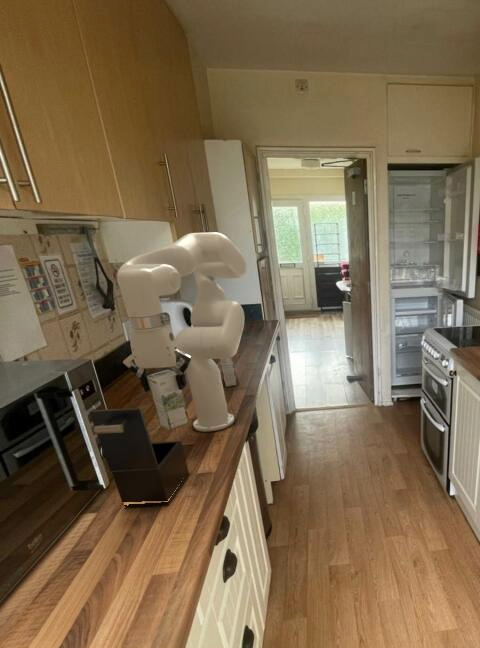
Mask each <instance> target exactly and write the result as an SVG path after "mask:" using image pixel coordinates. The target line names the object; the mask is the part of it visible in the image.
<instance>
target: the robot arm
mask: <svg viewBox="0 0 480 648" xmlns="http://www.w3.org/2000/svg"><path fill="white" fill-rule="evenodd" d="M246 273H247V261H246V259H245V257H244V255H243V253H242V251H240V249H239V248H238V247H237V246H236V245H235V243H233V241H231V239H230V238H228V236H226V235H224V234H223V233H221V232H217V231H212V232H209V231H207V232H190V233H186V234H184V235H182V236H181V237H180V238H179V239H177V240H176V241H174V242H173V243H171V244H170V245H168V246H165V247H161V248H159V249H155V250H153V251H149V252H146V253H142V254H139V255H137V256H135V257H132V258H131V259H129V260H127V261H126V262H124V263H122V265H121V266H120V267H119V269H118V271H117V273H116V280H117V285H118V286H119V290H120V293H121V297H122V300H123V304H124V308H125V310H126V314H127V317H128V321H129V325H130V328H129V342H130V348H131V349H130V350H131V354H130V355H128V356H127V357H125V359H123V361H122V364H124V366H126V367H127V368H128V369H129V371H131V372H132V373H133V374H134V375H136V377H137V378H139V381H140V384H141V387H142V388H143V390H144V393H147V392H150V388H149V385H148V381H147V378H146V376H147V375H150V374H149V372H147V371H148V369H161V368H163V369H164V368H170V369H172V371H173V372H174V373H176V374H177V375H176V381H177V384H178V388H179V390H182V391H183V390H184V389H185V387H187V386H186V385H187V381H188V385H189V389H190V393H191V398H192V402H193V407H194V411H195V415H196V419H195V420H194V421H193V423H192V426H193V429H194V430H196V431H197V432H203V433H204V432H206V433H209V432H216V431H221V430H223V429H226V428H229V427H230V426H231V425H233V424H234V422H235V416H234V415H233V414H232V413H229V411H228V403H227V400H226V395H225V390H224V386H223V385H224V384H223V380H222V374H221V370H220V368H219V366H218V364H217V363H216V361H214V360H218V359H219V360H220V359H225V358H231V357H232V358H234V357H235V355H237V352H238V351H239V346H240V342H241V338H242V336H243V331H244V328H245V320H246V319H245V311H244V309H243V307H242V305H241V304H240V303H239V302H237V301H235V300H227V295H226V292H225V290H224V289H223V288H222V287H221V285H220V284H218V283H217V282H216V280H222V279H240V278H242V277H243V276H245V274H246ZM191 274H193V277H194V279H195V283H196V286H197V291H198V292H197V295H196V297H195V301H194V304H193V307H192V310H191V313H190V323H191V326H188V327H185V328H182V329H180V330H179V331H178V332H177V334H176V336H175V332H174V331H173V329H172V327H171V325H170V324H167V323H170V322H171V317H170V316H169V315H165V313H164V311H163V308H162V304H161V299H160V297H162V296H172V295H174V294H176V293H177V292H178V291H179V290H180V288H181V286H182V278H184V277H187V276H189V275H191ZM181 361H182V363H180V362H181ZM185 372H186V375H185ZM186 376H187V378H186Z"/></svg>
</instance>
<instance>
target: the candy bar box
mask: <svg viewBox="0 0 480 648" xmlns="http://www.w3.org/2000/svg"><path fill="white" fill-rule="evenodd" d="M219 365H220V369H221V373H222V374H221V375H222V378H223V383H224V386H225V388H228V387H229V388H230V387H235V386H238V380H237V375H236V370H235V364H234V359H233V357H231V358H225V359H219Z"/></svg>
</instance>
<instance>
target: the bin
mask: <svg viewBox="0 0 480 648" xmlns="http://www.w3.org/2000/svg"><path fill="white" fill-rule="evenodd" d="M151 443H152V446H153V449H154V453H155V456H156V460H157V463H158V466H159V467H158V468H157V469H140V470H122V471H111V474H112V477H113V479H114V482H115V486H116V488H117V491H118V494H119V497H120V500H121V503H122V502H142V501H168V499H169V498H170V497H171V496H172V497H171V498H170V500H169V501H168V502H161V503H145V504H129V505H128V506H127V505H124V506H125V507H126V508H125V509H135V508H136V509H137V508H149V507H150V508H151V507H166V506H167V507H168V506H170V505H171V503H172V501H173V500H174V499H175V497H176V496H177V494H178V493H179V491H180V490H181V488H182V486H183V485H184V483H185V481H187V479H188V477H189V475H190V472H189V468H188V464H187V459H186V456H185V452H184V448H183V444H182V440H176V441H175V440H174V441H159V442H158V441H157V442H151ZM183 478H184V479H183ZM181 481H182V482H181ZM179 484H180V485H179ZM178 485H179V486H178ZM177 487H178V488H177ZM176 488H177V489H176ZM175 490H176V491H175ZM174 491H175V492H174ZM173 493H174V494H173ZM172 494H173V495H172ZM124 506H123V507H124Z"/></svg>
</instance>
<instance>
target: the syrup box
mask: <svg viewBox="0 0 480 648" xmlns="http://www.w3.org/2000/svg"><path fill="white" fill-rule="evenodd" d="M176 375H177V373H176V372H175V371H173V370H170V369H165V370H162V371H159V372H155V373H151V374H149V375H147V376H146V378H147V381H148V385H149V388H150V390H149V392H150V395H151V398H152V401H153V405H154V408H155V412H156V416H157V419H158V422H159V425H160V426H162V427H163V428H165V429H167V430H168V431H172V430H174V429H177V428H180V427H182V426H185V425H187V424H190V418H189V414H188V410H187V406H186V402H185V398H184V393H183V389H182V390H179V388H178V384H177V381H176Z"/></svg>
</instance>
